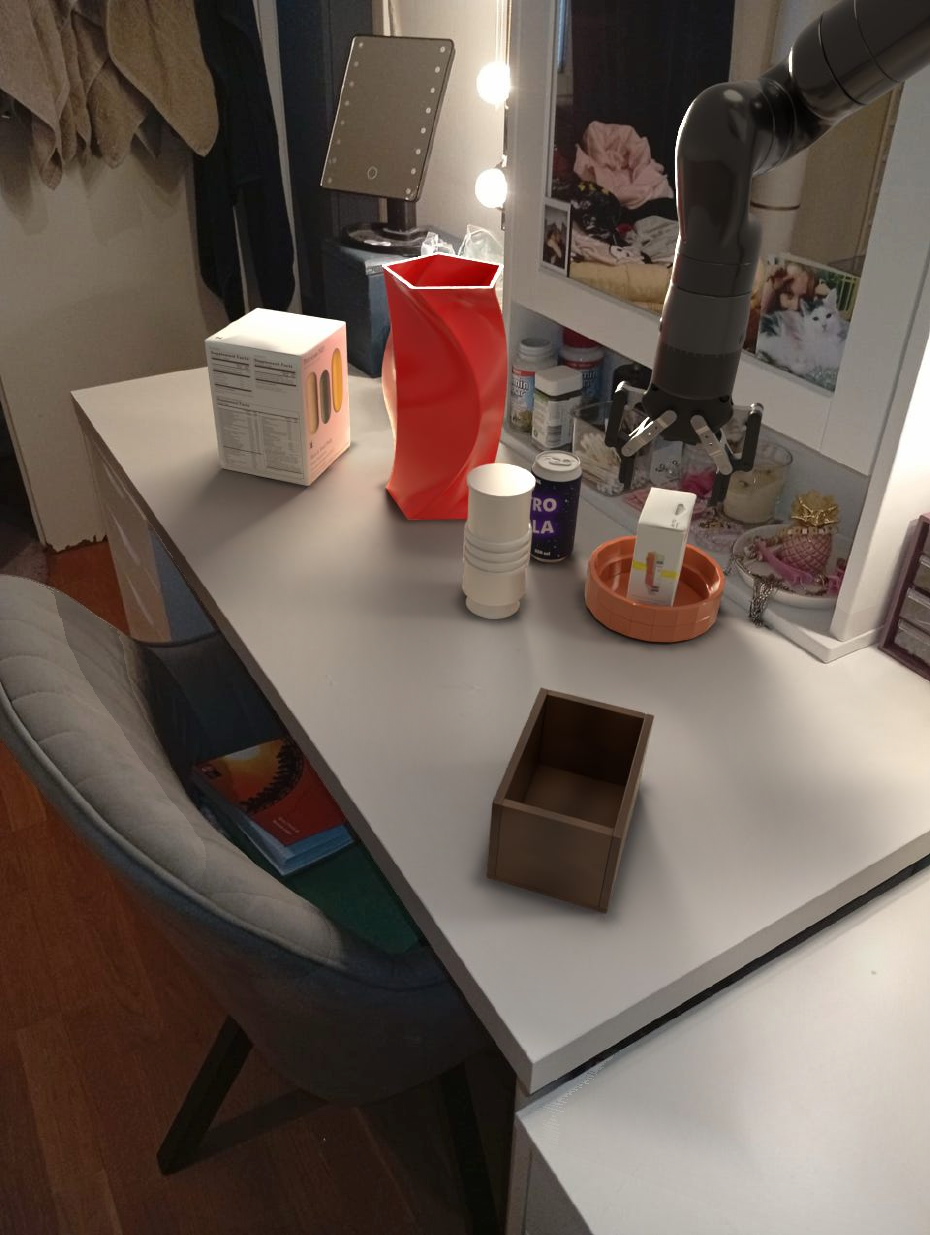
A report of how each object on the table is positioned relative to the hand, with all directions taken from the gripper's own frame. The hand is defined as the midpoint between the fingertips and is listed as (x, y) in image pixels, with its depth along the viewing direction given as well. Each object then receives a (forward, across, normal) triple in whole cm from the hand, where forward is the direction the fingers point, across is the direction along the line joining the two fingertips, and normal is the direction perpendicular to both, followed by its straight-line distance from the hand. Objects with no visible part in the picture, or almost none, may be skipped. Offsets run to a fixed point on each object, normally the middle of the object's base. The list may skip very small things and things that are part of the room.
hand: (670, 494), depth 93 cm
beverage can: (+14, +13, -6) cm, 20 cm away
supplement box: (+14, +52, -16) cm, 56 cm away
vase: (+14, +30, -14) cm, 36 cm away
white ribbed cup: (+14, +16, +6) cm, 22 cm away
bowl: (+14, 0, 0) cm, 14 cm away
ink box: (+13, 0, 0) cm, 13 cm away
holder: (+14, +1, +34) cm, 37 cm away
